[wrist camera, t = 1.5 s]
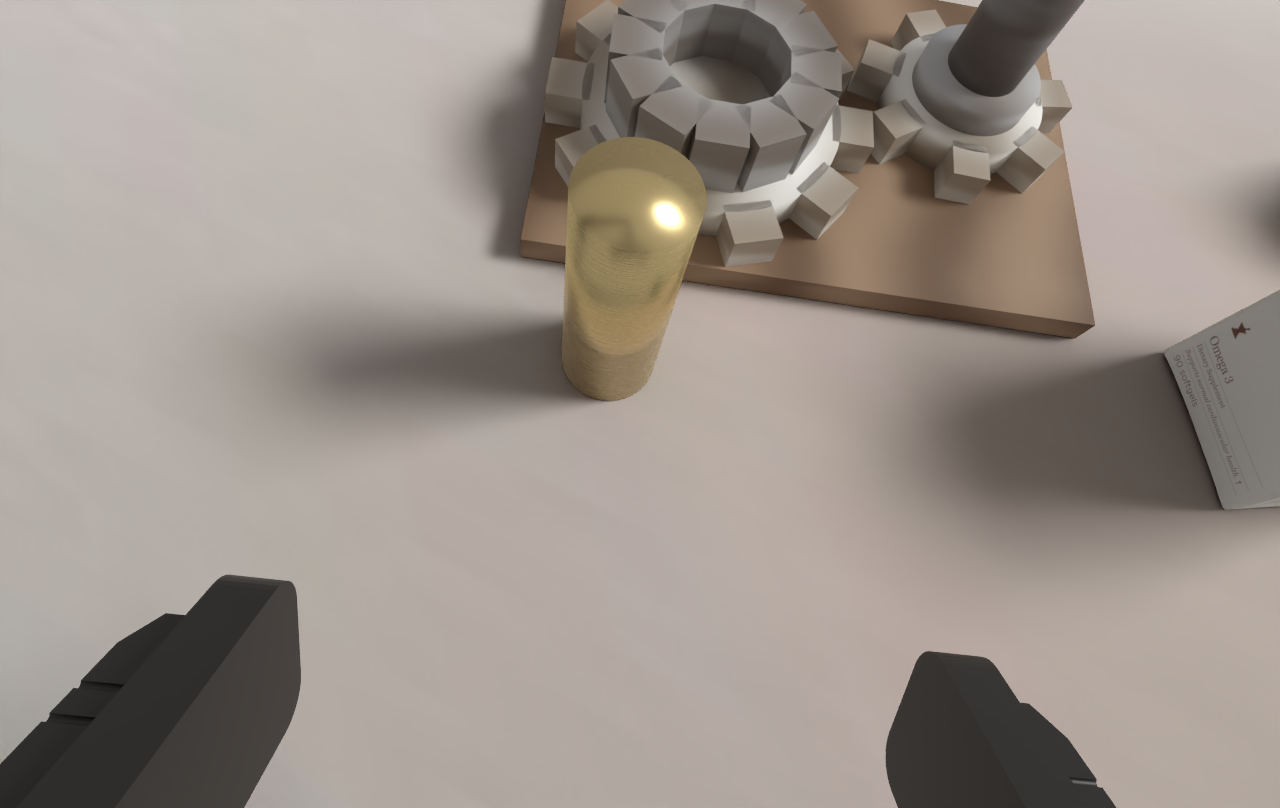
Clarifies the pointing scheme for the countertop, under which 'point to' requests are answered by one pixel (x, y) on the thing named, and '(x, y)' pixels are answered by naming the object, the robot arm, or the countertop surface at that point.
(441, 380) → the countertop surface
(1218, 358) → the supplement box
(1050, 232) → the gear board
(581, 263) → the brass axle
